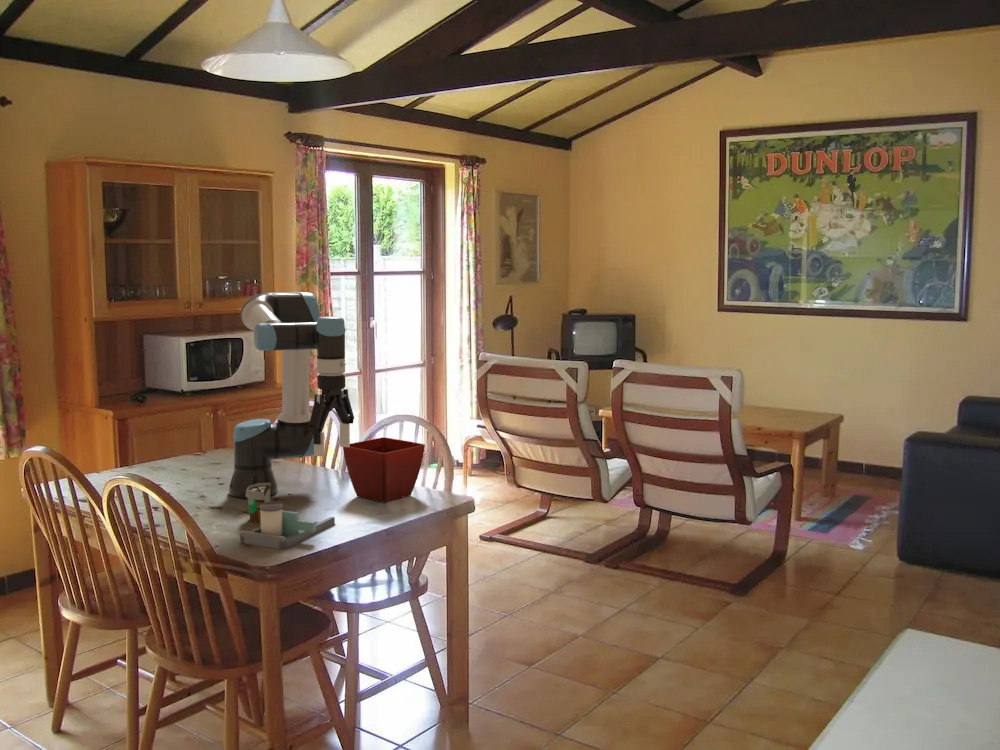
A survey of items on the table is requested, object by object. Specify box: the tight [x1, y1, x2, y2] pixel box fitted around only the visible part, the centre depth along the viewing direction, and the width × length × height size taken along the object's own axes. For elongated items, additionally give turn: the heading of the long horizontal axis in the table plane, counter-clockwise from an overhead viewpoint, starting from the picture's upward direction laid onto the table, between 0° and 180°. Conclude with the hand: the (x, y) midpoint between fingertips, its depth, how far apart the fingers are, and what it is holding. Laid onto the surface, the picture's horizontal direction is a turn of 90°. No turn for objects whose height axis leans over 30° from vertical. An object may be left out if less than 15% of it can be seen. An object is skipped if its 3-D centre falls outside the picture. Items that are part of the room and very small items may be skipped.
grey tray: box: [239, 516, 336, 550], centre depth 259 cm, size 14×25×4 cm, turn 158°
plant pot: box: [342, 436, 426, 503], centre depth 301 cm, size 19×19×17 cm
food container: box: [245, 483, 271, 524], centre depth 272 cm, size 12×6×10 cm, turn 5°
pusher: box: [282, 509, 317, 538], centre depth 254 cm, size 16×2×7 cm, turn 68°
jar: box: [260, 501, 283, 536], centre depth 251 cm, size 6×6×10 cm
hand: (332, 451), depth 258 cm, fingers open, 13 cm apart
